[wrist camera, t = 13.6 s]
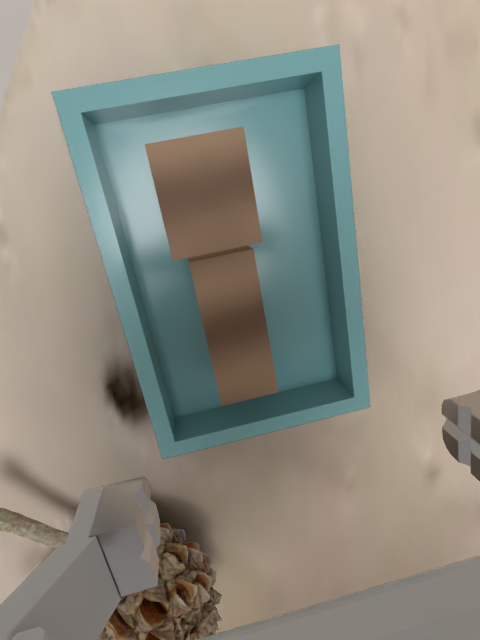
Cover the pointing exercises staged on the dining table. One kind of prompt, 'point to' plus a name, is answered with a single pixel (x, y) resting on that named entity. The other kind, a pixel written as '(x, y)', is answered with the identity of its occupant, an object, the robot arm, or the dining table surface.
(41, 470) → the dining table surface
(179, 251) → the stepped brown block
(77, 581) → the robot arm
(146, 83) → the serving bin
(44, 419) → the dining table surface
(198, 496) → the dining table surface
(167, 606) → the pine cone
